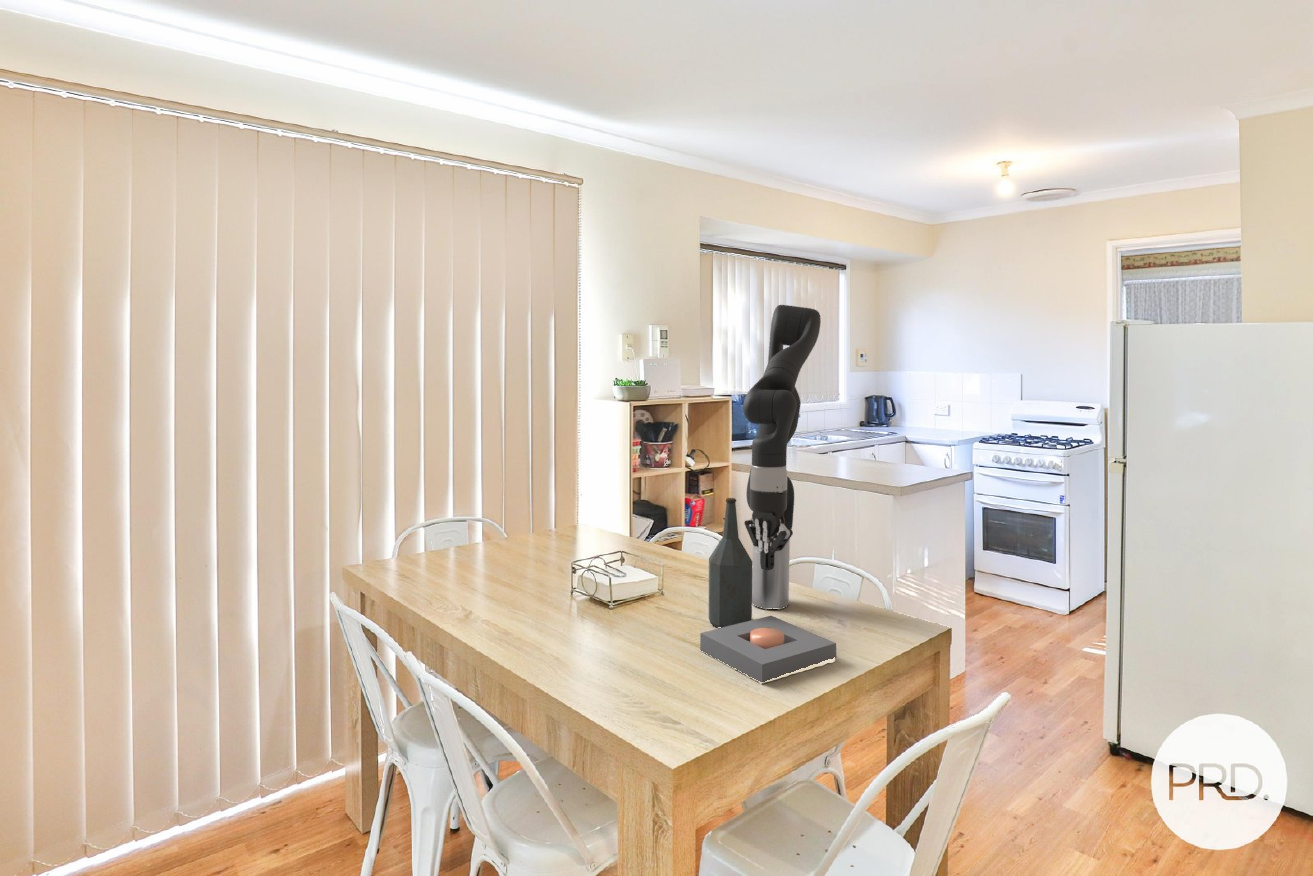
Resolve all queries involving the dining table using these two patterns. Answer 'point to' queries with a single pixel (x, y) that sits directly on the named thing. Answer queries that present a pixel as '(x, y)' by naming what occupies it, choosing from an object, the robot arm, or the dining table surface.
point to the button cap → (766, 637)
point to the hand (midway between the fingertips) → (767, 569)
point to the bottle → (730, 576)
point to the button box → (769, 662)
